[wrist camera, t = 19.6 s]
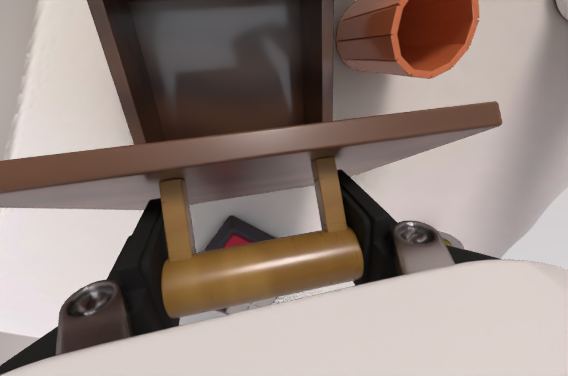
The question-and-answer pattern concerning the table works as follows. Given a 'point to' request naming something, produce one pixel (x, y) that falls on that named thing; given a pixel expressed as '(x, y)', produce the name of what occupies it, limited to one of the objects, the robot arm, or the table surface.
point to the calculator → (229, 236)
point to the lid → (241, 182)
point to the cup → (406, 35)
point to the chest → (217, 64)
